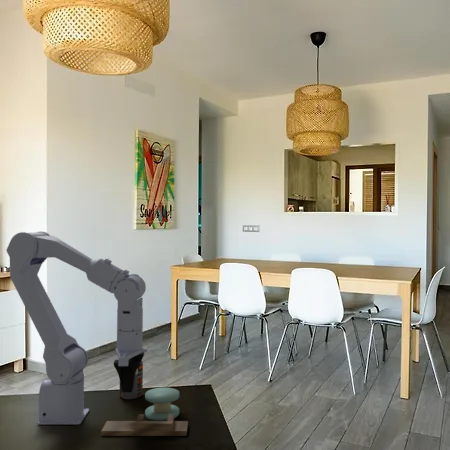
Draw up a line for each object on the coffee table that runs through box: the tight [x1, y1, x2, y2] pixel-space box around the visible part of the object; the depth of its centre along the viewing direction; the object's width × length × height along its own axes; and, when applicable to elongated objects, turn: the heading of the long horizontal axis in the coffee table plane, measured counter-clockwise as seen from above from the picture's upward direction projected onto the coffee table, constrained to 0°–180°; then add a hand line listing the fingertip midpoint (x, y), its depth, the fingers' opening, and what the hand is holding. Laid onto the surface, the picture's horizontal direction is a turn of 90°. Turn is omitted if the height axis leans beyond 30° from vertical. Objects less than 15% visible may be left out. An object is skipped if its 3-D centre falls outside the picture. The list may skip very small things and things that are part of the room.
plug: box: [121, 369, 138, 400], centre depth 107 cm, size 4×4×6 cm
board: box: [100, 413, 189, 437], centre depth 102 cm, size 18×5×2 cm, turn 91°
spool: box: [144, 387, 180, 421], centre depth 111 cm, size 8×8×5 cm
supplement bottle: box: [119, 361, 144, 400], centre depth 122 cm, size 6×6×11 cm
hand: (129, 388), depth 107 cm, fingers closed on plug, 4 cm apart
